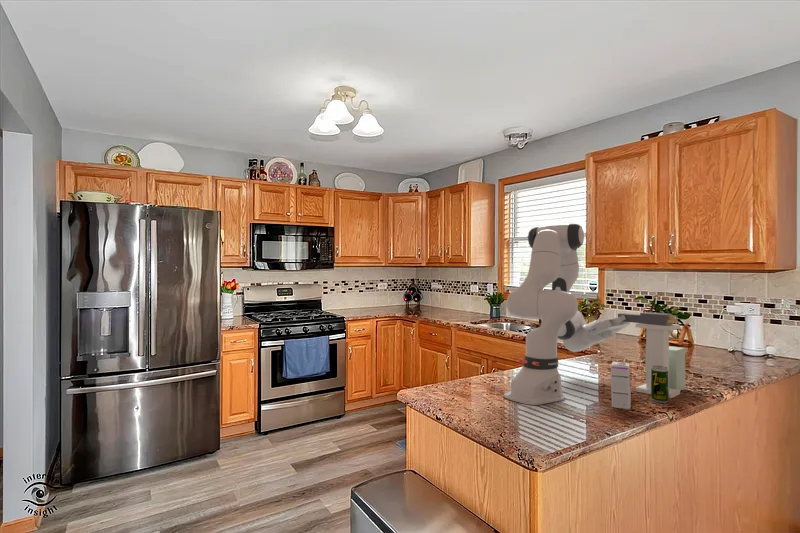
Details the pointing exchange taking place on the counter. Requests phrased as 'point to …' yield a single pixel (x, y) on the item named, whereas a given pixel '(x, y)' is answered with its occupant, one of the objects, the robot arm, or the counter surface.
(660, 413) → the counter surface
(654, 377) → the beer can
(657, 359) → the tall shelf
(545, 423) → the counter surface
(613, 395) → the syrup box
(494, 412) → the counter surface
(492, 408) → the counter surface
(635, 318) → the grey boxy piece
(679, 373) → the socket block
